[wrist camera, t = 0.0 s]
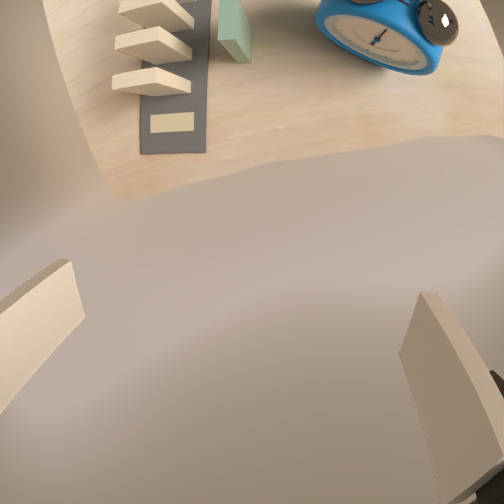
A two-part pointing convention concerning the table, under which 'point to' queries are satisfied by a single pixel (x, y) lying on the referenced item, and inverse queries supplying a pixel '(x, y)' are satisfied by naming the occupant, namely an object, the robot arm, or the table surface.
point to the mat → (181, 105)
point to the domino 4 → (235, 30)
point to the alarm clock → (391, 31)
